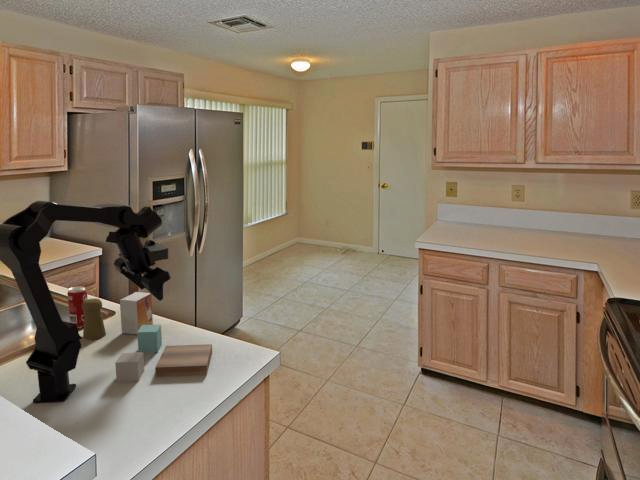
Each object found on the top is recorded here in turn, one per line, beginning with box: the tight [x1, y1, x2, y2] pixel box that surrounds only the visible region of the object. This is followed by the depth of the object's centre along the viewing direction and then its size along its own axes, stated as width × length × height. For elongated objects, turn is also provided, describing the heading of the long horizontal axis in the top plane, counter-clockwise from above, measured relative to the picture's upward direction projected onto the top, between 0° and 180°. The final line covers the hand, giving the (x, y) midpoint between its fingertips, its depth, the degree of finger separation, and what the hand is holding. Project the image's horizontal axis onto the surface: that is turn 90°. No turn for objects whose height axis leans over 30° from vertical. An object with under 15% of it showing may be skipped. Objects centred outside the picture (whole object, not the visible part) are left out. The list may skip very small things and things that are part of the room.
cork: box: [82, 298, 107, 341], centre depth 126 cm, size 6×6×11 cm
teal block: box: [136, 324, 163, 354], centre depth 120 cm, size 5×5×6 cm
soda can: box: [67, 285, 89, 329], centre depth 133 cm, size 5×5×12 cm
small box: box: [119, 291, 154, 335], centre depth 132 cm, size 8×6×10 cm
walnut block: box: [154, 343, 213, 378], centre depth 112 cm, size 12×12×3 cm
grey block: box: [114, 351, 145, 383], centre depth 105 cm, size 5×5×5 cm
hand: (152, 294), depth 121 cm, fingers open, 9 cm apart
